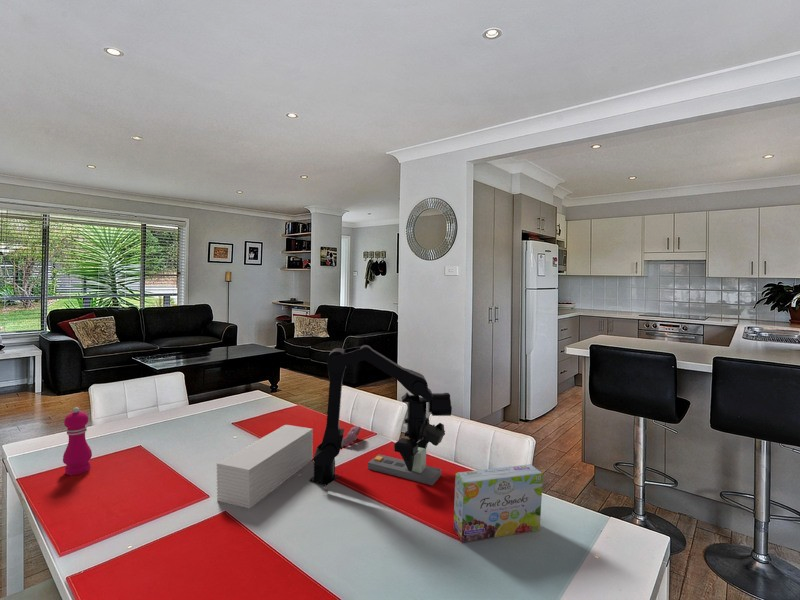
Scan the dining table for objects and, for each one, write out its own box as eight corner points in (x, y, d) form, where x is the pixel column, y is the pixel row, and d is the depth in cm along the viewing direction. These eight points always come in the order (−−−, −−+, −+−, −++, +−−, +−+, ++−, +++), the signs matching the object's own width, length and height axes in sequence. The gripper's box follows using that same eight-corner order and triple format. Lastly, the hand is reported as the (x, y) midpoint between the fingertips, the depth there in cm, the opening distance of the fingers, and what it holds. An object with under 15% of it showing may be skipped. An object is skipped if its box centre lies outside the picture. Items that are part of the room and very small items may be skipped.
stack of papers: (285, 455, 147) (285, 424, 146) (312, 460, 143) (312, 428, 143) (217, 501, 117) (216, 463, 116) (249, 509, 113) (249, 469, 113)
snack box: (462, 545, 100) (464, 482, 99) (452, 531, 105) (454, 471, 104) (541, 531, 106) (543, 471, 105) (528, 518, 111) (530, 462, 110)
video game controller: (348, 452, 154) (357, 435, 153) (338, 445, 154) (346, 429, 153) (356, 441, 163) (365, 426, 162) (346, 435, 164) (354, 419, 163)
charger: (420, 479, 129) (420, 453, 128) (405, 475, 131) (405, 450, 130) (425, 474, 132) (426, 448, 132) (411, 470, 134) (411, 445, 134)
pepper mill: (58, 472, 131) (56, 408, 130) (84, 463, 138) (82, 402, 136) (70, 478, 128) (68, 412, 127) (97, 468, 134) (95, 406, 133)
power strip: (432, 488, 125) (432, 476, 125) (367, 471, 135) (367, 460, 135) (440, 478, 132) (441, 467, 131) (378, 463, 141) (378, 452, 141)
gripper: (429, 430, 118) (428, 484, 119) (452, 411, 135) (451, 459, 136) (393, 423, 123) (392, 475, 124) (419, 405, 140) (419, 452, 141)
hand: (415, 465), depth 131 cm, fingers open, 8 cm apart
